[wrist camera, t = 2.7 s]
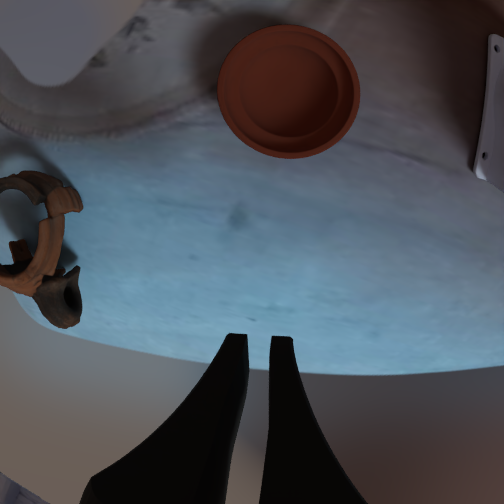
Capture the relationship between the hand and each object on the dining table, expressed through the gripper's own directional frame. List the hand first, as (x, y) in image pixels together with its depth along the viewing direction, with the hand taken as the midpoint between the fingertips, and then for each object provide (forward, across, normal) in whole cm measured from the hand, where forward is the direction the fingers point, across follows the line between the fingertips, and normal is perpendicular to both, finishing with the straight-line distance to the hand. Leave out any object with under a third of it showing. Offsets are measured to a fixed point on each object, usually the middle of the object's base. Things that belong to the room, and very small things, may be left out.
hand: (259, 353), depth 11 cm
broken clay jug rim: (+10, +17, +1) cm, 20 cm away
